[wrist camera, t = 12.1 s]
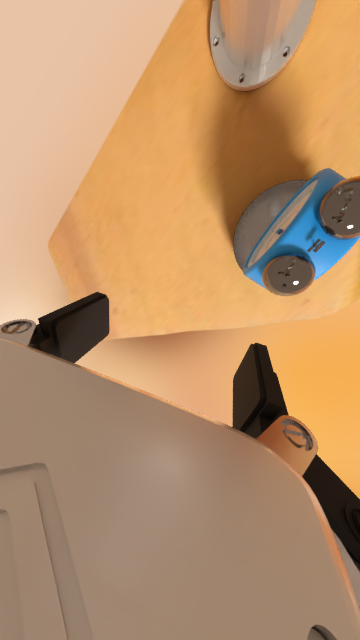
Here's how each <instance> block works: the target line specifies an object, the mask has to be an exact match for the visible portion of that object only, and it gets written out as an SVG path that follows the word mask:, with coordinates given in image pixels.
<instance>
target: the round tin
mask: <svg viewBox="0 0 360 640" xmlns="http://www.w3.org/2000/svg"><path fill="white" fill-rule="evenodd" d="M307 182H308V181H307V180H293V181H287V182H284V183H280V184H278V185H276V186H273V187H271V188H270V189H268V190H266V191H265V192H263V193H262V194H261V195H259V196H258V197H257V198H256V199H255V200H254V201H253V202H252V203H251V204H250V205H249V206H248V207H247V209H246V210H245V212H244V213H243V215H242V217H241V218H240V220H239V222H238V225H237V227H236V230H235V235H234V254H235V258H236V261H237V263H238V265H239V267H240V268H241V269H242V271H243V267H244V264H245V262H246V260H247V258H248V257H249V255H250V253H251V251H252V250H253V248H254V247H255V245H256V244H257V242H258V241H259V239H260V238H261V236H262V235H263V234H264V232H265V231H266V229H267V228H268V227H269V225H270V224H271V223H272V222H273V220H274V219H275V218H276V216H277V215H278V214H279V213H280V211H281V210H282V209H283V208H284V207H285V205H286V204H287V203H288V202H289V201H290V200H291V198H292V197H293V196H294V195H295V194H296V193H297V192H298V191H299V190H300V189H301V188H302V187H303V186H304V185H305V184H306V183H307Z"/></svg>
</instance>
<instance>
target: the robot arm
mask: <svg viewBox="0 0 360 640" xmlns="http://www.w3.org/2000/svg"><path fill="white" fill-rule="evenodd" d="M315 2H316V0H213V4H212V10H211V18H210V43H211V51H212V57H213V61H214V64H215V67H216V70H217V72H218V74H219V76H220V77H221V79H222V80H223V81H224V82H225V83H226V84H227V85H228V86H230V87H231V88H233V89H235V90H239V91H250V90H254V89H257V88H259V87H261V86H263V85H265V84H267V83H268V82H269V81H271V80H272V79H273V78H274V77H275V76H277V75H278V74H279V72H280V71H281V70H282V69H283V68H284V67H285V66H286V65H287V63H288V62H289V60H290V59H291V58H292V56H293V55H294V53H295V51H296V50H297V48H298V46H299V44H300V42H301V41H302V39H303V36H304V34H305V31H306V29H307V27H308V24H309V21H310V19H311V16H312V13H313V10H314V6H315ZM217 44H218V45H217ZM216 45H217V46H216ZM284 55H286V57H284ZM241 80H243V82H242V83H240V81H241ZM38 320H39V324H38V325H36V324H35V322H34V321H31V320H27V319H20V320H13V321H9V322H7V323H4V324H2V325H0V640H360V499H359V498H358V497H357V496H356V495H355V494H354V493H353V492H352V491H351V490H350V489H349V488H348V487H347V486H346V485H345V484H344V483H343V482H342V480H340V478H339V477H338V476H337V475H336V474H335V473H334V472H333V471H332V470H331V469H330V468H329V467H328V466H327V465H326V464H325V463H324V462H323V461H322V460H321V458H320V457H318V455H317V451H318V445H317V441H316V439H315V437H314V435H313V434H312V432H311V431H310V430H309V429H308V428H307V427H306V426H305V425H304V424H303V423H302V422H301V421H299V420H298V419H296V418H294V417H292V416H289V415H288V412H287V409H286V405H285V402H284V398H283V395H282V391H281V388H280V384H279V381H278V377H277V375H276V373H275V372H273V368H272V364H271V361H270V357H269V353H268V350H267V347H266V346H265V345H262V344H259V343H255V344H251V345H250V347H249V349H248V351H247V352H246V354H245V357H244V358H243V360H242V362H241V364H240V366H239V368H238V370H237V372H236V374H235V375H234V379H233V427H230V426H228V425H226V424H224V423H221V422H219V421H217V420H214V419H212V418H209V417H207V416H205V415H202V414H200V413H198V412H195V411H193V410H190V409H188V408H185V407H183V406H180V405H178V404H175V403H173V402H170V401H168V400H165V399H163V398H160V397H158V396H155V395H153V394H151V393H148V392H145V391H143V390H140V389H138V388H135V387H133V386H130V385H128V384H125V383H123V382H120V381H117V380H115V379H113V378H110V377H108V376H105V375H102V374H100V373H97V372H95V371H92V370H90V369H87V368H85V367H82V366H79V365H77V364H74V363H75V362H76V361H78V360H79V359H80V358H81V357H82V356H84V355H85V354H86V353H87V352H88V351H90V350H91V349H92V348H93V347H94V346H96V345H97V344H98V343H99V342H100V341H102V340H103V339H104V338H105V337H106V336H107V335H108V334H109V299H108V298H107V296H106V295H105V294H102V293H99V292H96V293H93V294H91V295H89V296H87V297H85V298H82V299H80V300H78V301H76V302H73V303H71V304H69V305H67V306H65V307H63V308H60V309H58V310H56V311H54V312H52V313H49V314H47V315H45V316H43V317H40V318H39V319H38Z"/></svg>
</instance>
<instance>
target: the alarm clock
mask: <svg viewBox="0 0 360 640" xmlns="http://www.w3.org/2000/svg"><path fill="white" fill-rule="evenodd" d="M359 238H360V176H356V177H351V178H348V179H345V178H344V177H342V176H341V175H339V174H338V173H336V172H335V171H333V170H332V169H329V168H328V169H323V170H322V171H320V172H318V173H317V174H315V175H314V176H313V177H312V178H311V179H310V180H309V181H308V182H307V183H306V184H305V185H304V186H303V187H302V188H301V189H300V190H299V191H298V192H297V193H296V194H295V195H294V196H293V197H292V198H291V200H290V201H289V202H288V203H287V204H286V205H285V207H284V208H283V209H282V210H281V211H280V213H279V214H278V215H277V216H276V218H275V219H274V220H273V222H272V223H271V224H270V225H269V227H268V228H267V229H266V231H265V232H264V234H263V235H262V236H261V238H260V239H259V241H258V242H257V244H256V245H255V247H254V248H253V250H252V251H251V253H250V255H249V257H248V258H247V260H246V262H245V264H244V267H243V273H244V275H245V276H247V277H248V278H250V279H251V280H253V281H255V282H256V283H258V284H259V285H261V286H262V287H264V288H265V289H267V290H268V291H270V292H271V293H273V294H275V295H278V296H293V295H297V294H299V293H301V292H303V291H305V290H306V289H307V288H308V287H309V286H310V285H311V284H312V282H313V281H314V280H316V279H317V278H319V277H320V276H321V275H323V274H324V273H325V272H326V271H328V270H329V269H330V268H331V267H332V266H333V265H334V264H336V263H337V262H338V261H339V260H340V259H341V258H342V257H343V256H344V255H345V254H346V253H347V252H348V251H349V250H350V249H351V247H352V246H353V245H354V244H355V243H356V242H357V240H358V239H359Z"/></svg>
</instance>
